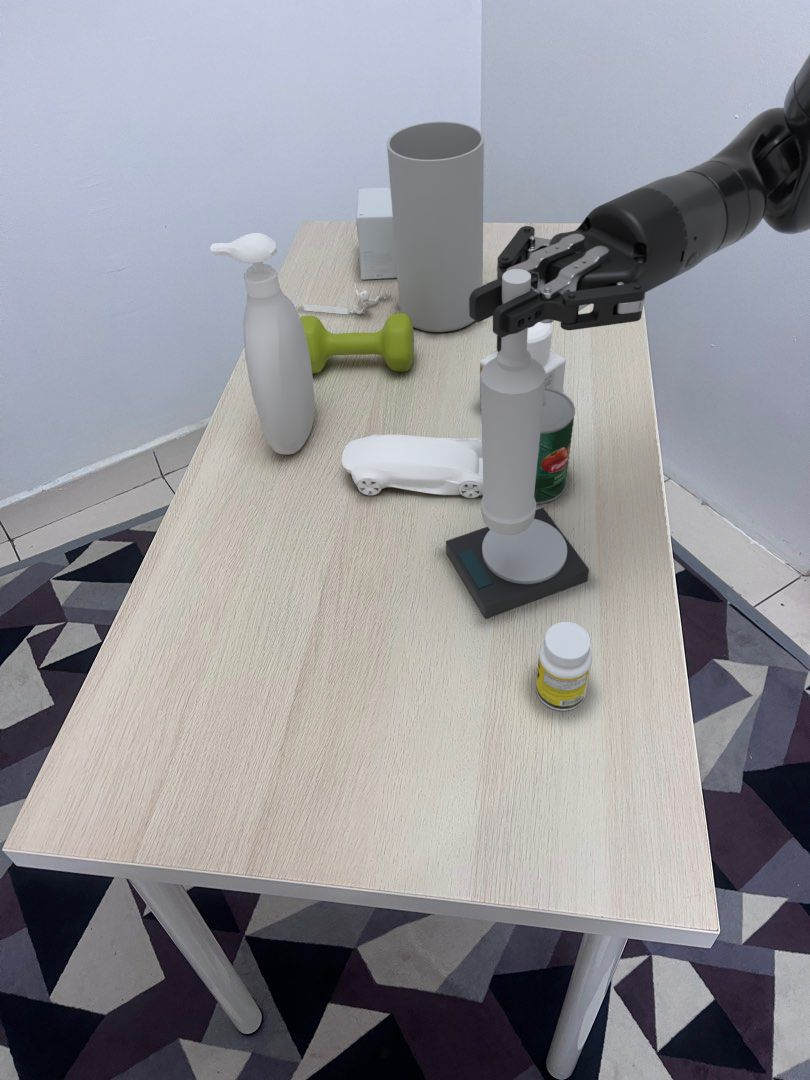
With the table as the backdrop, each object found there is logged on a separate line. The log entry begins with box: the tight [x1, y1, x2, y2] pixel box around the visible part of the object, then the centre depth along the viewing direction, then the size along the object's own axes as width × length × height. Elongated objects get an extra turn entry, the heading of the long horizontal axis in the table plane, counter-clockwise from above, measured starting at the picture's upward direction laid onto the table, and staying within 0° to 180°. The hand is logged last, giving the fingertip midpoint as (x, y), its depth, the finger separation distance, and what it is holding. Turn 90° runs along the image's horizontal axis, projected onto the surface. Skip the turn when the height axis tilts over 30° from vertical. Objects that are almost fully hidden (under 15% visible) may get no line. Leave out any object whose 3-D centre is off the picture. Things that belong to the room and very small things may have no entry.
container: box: [479, 322, 567, 410], centre depth 100 cm, size 8×8×13 cm
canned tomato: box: [534, 387, 576, 506], centre depth 91 cm, size 8×8×11 cm
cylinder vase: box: [386, 120, 485, 333], centre depth 112 cm, size 12×12×25 cm
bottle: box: [479, 269, 546, 536], centre depth 66 cm, size 5×5×25 cm
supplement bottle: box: [535, 621, 593, 712], centre depth 73 cm, size 5×5×8 cm
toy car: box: [341, 433, 484, 499], centre depth 95 cm, size 18×8×4 cm, turn 84°
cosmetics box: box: [355, 186, 397, 281], centre depth 128 cm, size 10×6×10 cm, turn 1°
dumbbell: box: [300, 312, 415, 374], centre depth 110 cm, size 16×8×7 cm, turn 87°
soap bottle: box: [209, 232, 315, 455], centre depth 94 cm, size 14×8×27 cm, turn 172°
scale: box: [445, 507, 590, 619], centre depth 85 cm, size 12×10×3 cm
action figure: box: [302, 283, 387, 315], centre depth 122 cm, size 12×5×7 cm
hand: (485, 316), depth 57 cm, fingers closed on bottle, 2 cm apart
